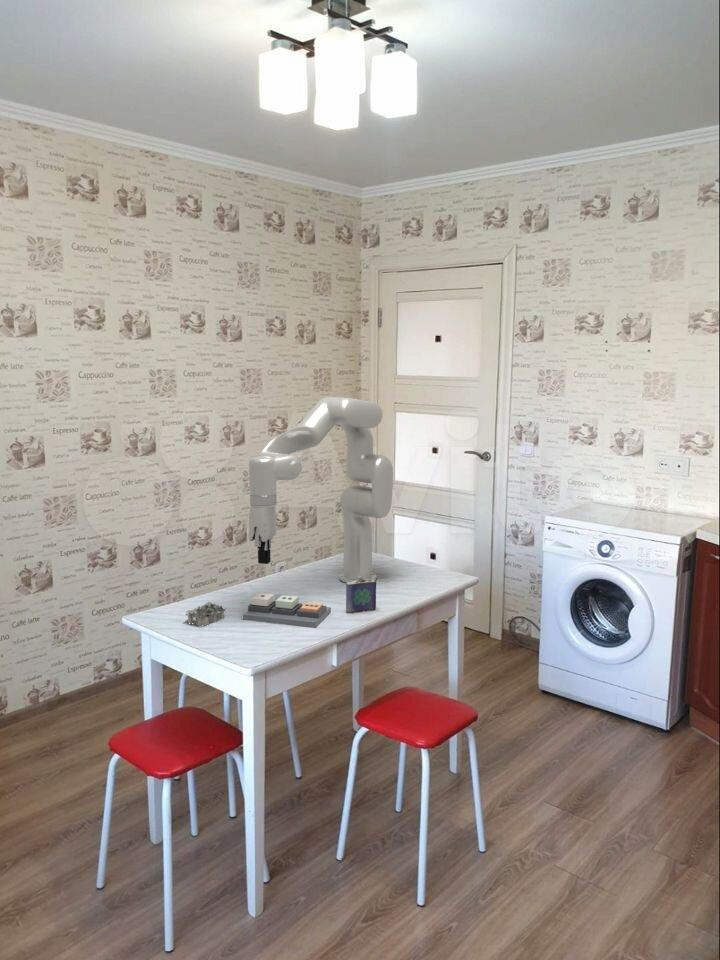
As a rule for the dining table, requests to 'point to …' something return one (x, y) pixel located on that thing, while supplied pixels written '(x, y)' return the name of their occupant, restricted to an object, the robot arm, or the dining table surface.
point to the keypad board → (286, 615)
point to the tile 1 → (262, 599)
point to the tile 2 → (287, 602)
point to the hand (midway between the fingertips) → (264, 562)
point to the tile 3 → (311, 607)
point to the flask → (361, 595)
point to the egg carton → (205, 614)
